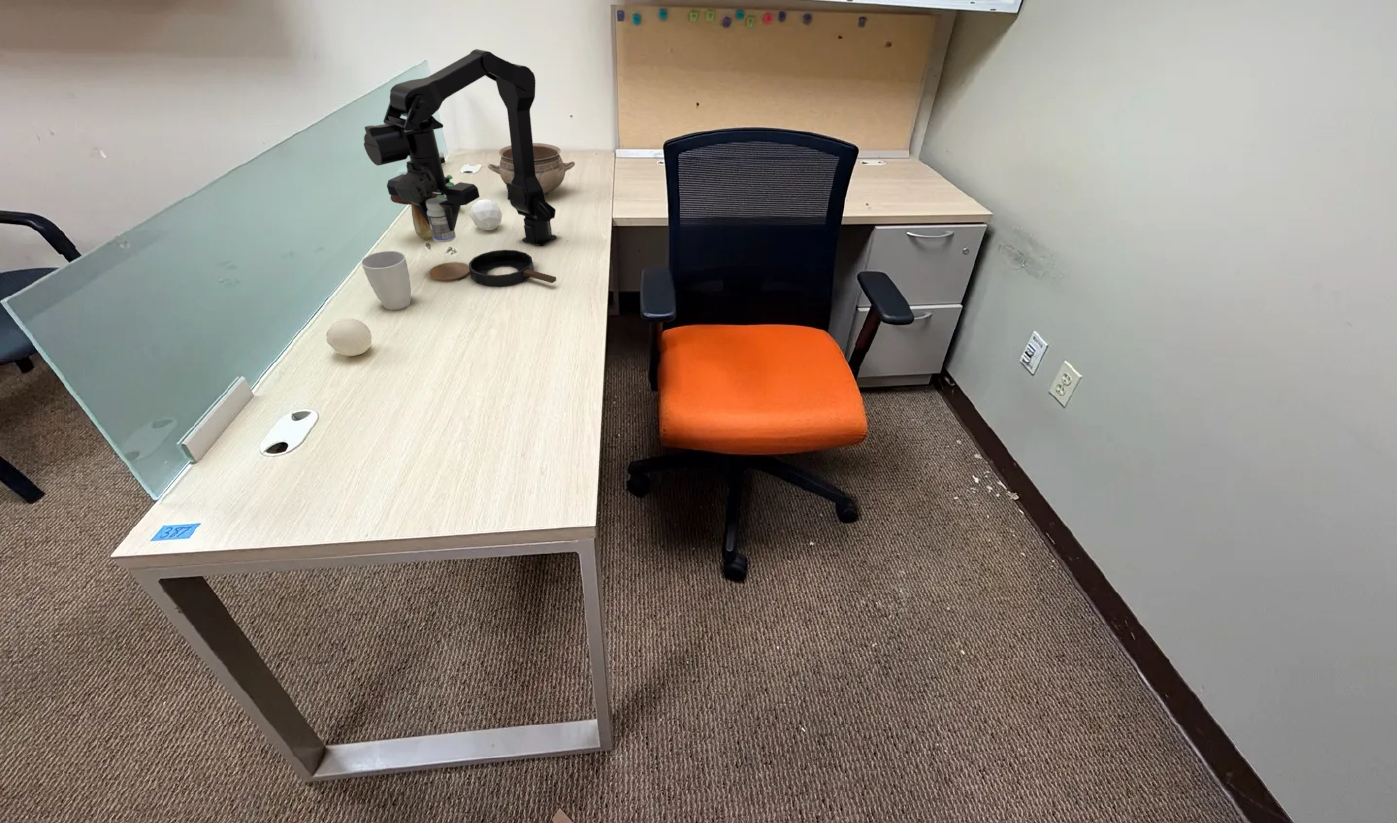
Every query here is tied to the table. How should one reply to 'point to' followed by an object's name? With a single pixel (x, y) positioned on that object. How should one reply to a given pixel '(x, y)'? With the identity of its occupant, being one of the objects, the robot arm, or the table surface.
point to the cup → (389, 278)
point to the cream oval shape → (349, 337)
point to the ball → (486, 214)
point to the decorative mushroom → (417, 218)
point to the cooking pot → (536, 166)
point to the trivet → (449, 271)
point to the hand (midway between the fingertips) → (442, 228)
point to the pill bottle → (438, 221)
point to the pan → (504, 258)
